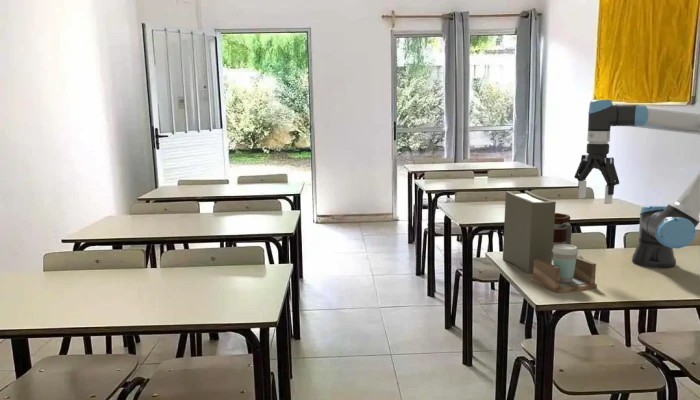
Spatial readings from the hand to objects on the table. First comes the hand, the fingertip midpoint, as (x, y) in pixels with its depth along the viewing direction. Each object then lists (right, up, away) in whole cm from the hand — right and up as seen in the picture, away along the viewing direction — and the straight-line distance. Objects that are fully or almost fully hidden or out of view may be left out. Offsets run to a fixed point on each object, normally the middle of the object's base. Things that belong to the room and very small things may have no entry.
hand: (594, 200), depth 212 cm
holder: (-16, -29, -11) cm, 35 cm away
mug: (-2, -22, +34) cm, 40 cm away
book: (-21, -26, +12) cm, 35 cm away
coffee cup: (-16, -28, -11) cm, 34 cm away
